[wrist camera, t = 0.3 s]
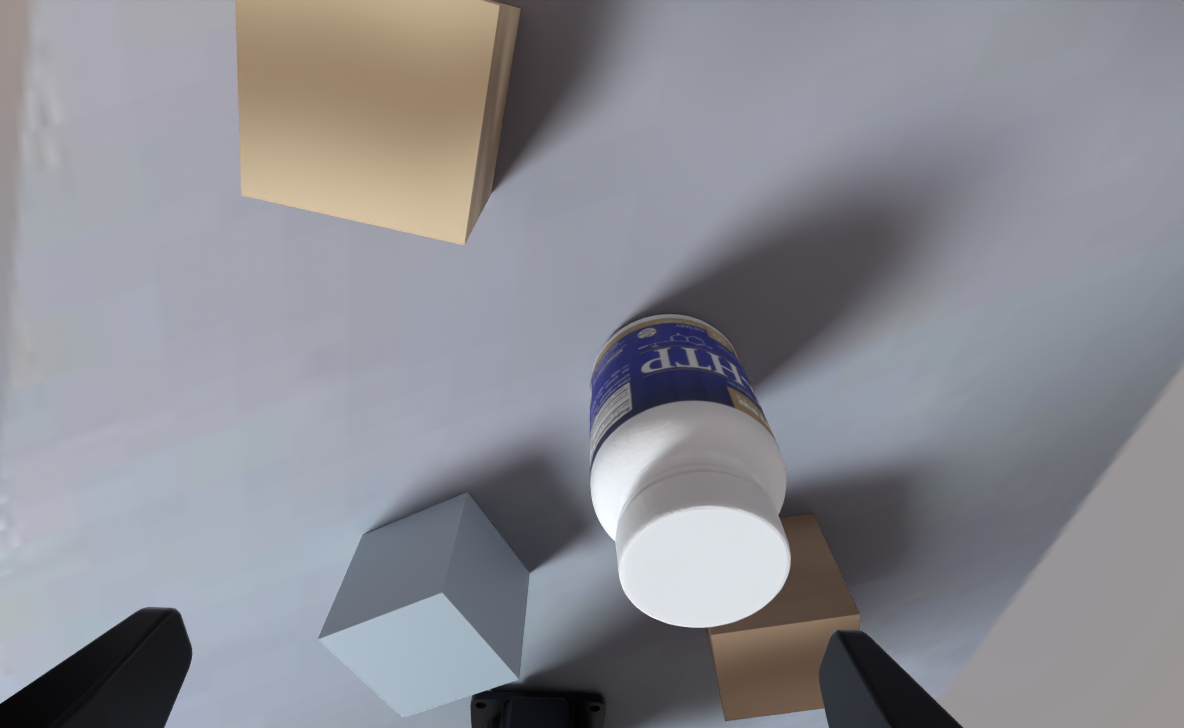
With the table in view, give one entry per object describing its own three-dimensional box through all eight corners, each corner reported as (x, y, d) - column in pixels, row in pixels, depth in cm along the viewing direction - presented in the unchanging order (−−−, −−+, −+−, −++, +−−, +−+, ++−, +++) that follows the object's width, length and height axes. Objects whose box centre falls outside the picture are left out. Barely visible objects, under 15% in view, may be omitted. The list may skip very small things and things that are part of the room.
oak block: (491, 192, 19) (464, 245, 15) (322, 153, 18) (240, 195, 14) (521, 8, 17) (499, 5, 12) (329, -45, 16) (233, -68, 12)
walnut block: (815, 595, 28) (859, 704, 23) (703, 611, 28) (725, 720, 24) (812, 511, 25) (859, 614, 21) (689, 530, 26) (710, 635, 21)
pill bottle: (765, 337, 21) (869, 519, 14) (701, 454, 24) (758, 666, 16) (620, 289, 20) (642, 454, 13) (568, 415, 23) (560, 620, 15)
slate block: (529, 571, 27) (519, 679, 22) (431, 608, 28) (402, 718, 23) (467, 490, 25) (442, 592, 20) (363, 533, 26) (317, 639, 21)
